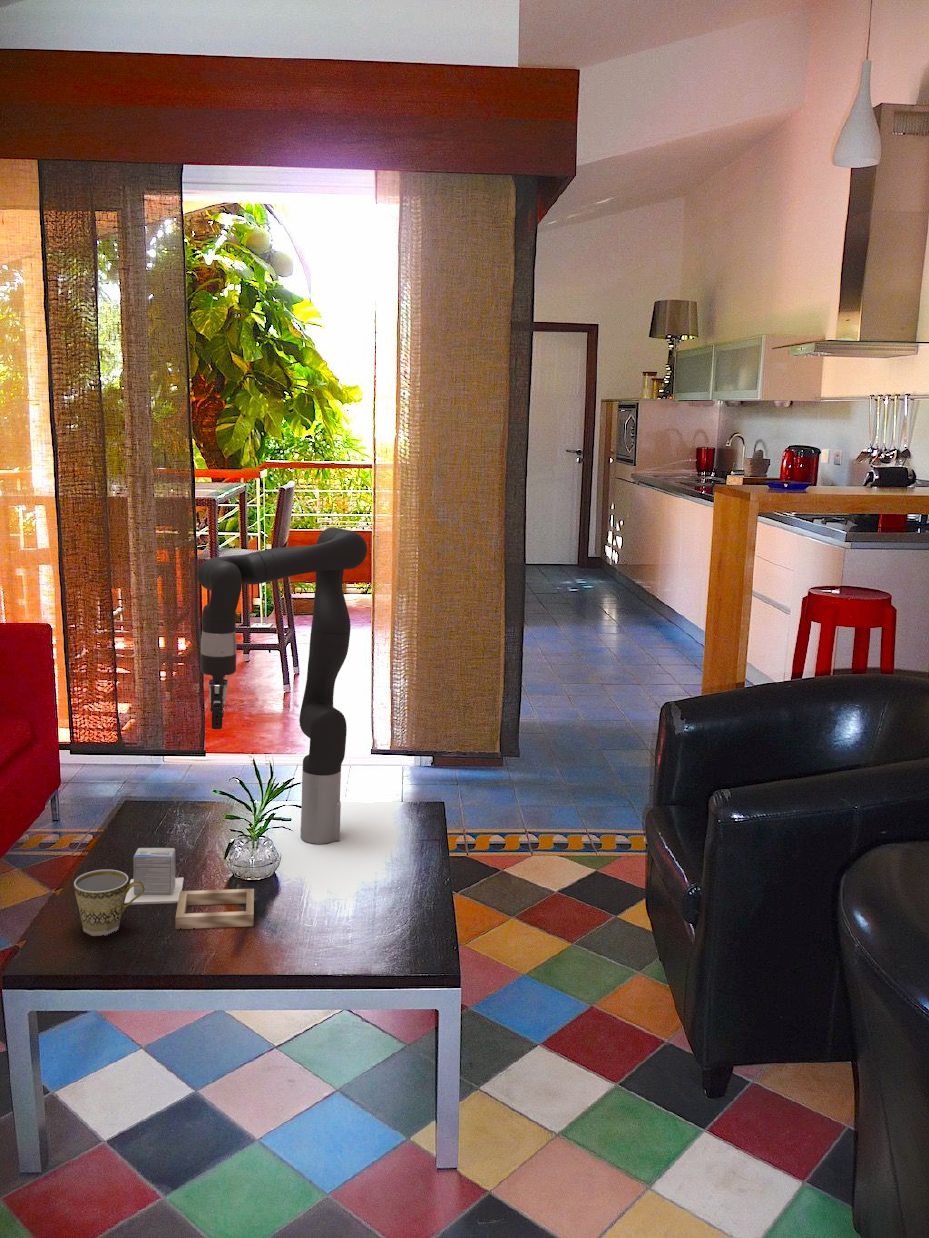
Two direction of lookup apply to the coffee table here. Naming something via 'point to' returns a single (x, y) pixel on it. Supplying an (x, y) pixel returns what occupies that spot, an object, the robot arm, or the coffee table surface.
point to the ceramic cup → (102, 900)
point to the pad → (156, 895)
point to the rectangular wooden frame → (215, 918)
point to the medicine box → (154, 870)
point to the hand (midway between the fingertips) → (217, 723)
